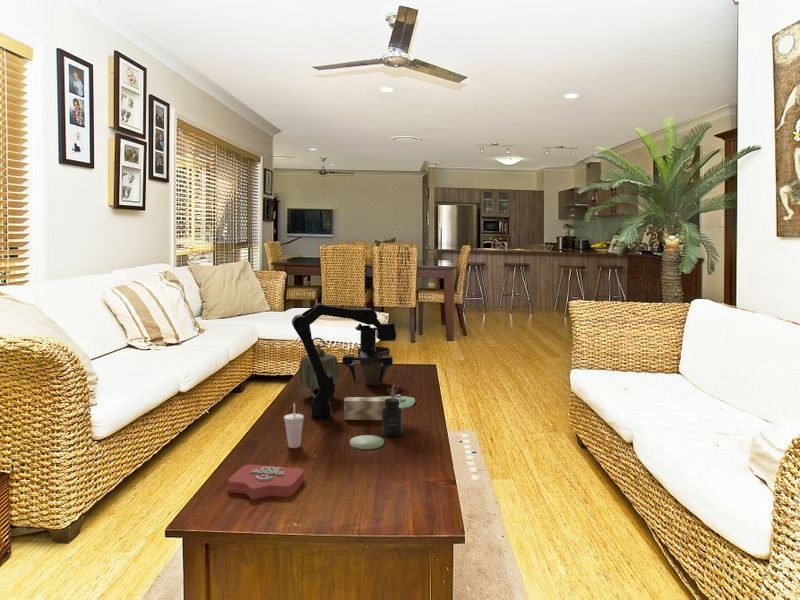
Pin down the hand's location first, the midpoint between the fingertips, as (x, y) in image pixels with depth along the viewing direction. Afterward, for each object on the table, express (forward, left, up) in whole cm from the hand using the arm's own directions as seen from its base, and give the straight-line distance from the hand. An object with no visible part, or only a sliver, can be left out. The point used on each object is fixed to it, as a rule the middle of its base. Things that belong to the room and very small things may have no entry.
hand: (367, 382), depth 218 cm
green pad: (+2, -33, -12) cm, 35 cm away
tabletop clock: (-22, +22, -12) cm, 34 cm away
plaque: (-23, -67, -13) cm, 72 cm away
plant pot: (0, +45, -12) cm, 47 cm away
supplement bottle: (+10, -24, -12) cm, 28 cm away
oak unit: (0, -6, -12) cm, 13 cm away
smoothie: (-21, -36, -12) cm, 43 cm away
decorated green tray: (+6, +15, -13) cm, 21 cm away
